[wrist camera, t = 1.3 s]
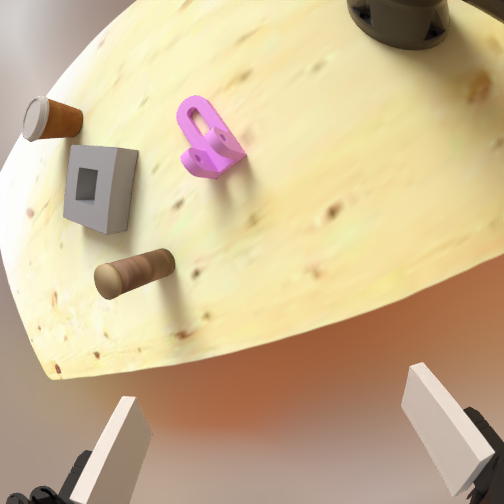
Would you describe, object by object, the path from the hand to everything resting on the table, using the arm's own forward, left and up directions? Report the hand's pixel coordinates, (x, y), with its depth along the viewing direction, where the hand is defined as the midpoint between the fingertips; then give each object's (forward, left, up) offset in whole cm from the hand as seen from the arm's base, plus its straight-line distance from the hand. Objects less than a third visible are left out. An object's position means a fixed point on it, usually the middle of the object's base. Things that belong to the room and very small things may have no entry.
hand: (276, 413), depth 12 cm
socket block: (-4, -41, -27) cm, 49 cm away
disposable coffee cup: (-16, -57, -27) cm, 65 cm away
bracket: (-15, -22, -27) cm, 38 cm away
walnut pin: (+6, -26, -27) cm, 37 cm away
